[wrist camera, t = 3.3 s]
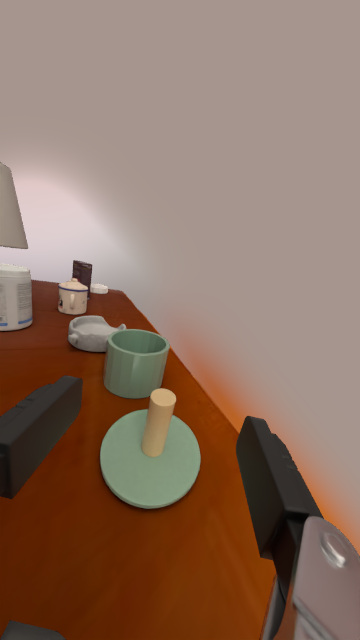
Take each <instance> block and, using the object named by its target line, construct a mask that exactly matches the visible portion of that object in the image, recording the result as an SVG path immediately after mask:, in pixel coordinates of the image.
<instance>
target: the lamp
mask: <svg viewBox="0 0 360 640" xmlns="http://www.w3.org/2000/svg"><path fill="white" fill-rule="evenodd" d="M0 246H3V247H11V248H21V249H28V244H27V240H26V236H25V232H24V227H23V222H22V218H21V213H20V209H19V205H18V200H17V196H16V191H15V187H14V183H13V178H12V173H11V170H10V169H9V168H8V167H7V166H6V165H4V164H2V163H1V162H0Z"/></svg>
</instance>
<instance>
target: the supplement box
mask: <svg viewBox="0 0 360 640" xmlns="http://www.w3.org/2000/svg"><path fill="white" fill-rule="evenodd" d="M91 274H92V265H91V264H88V263H85V262H81V261H75V260H74V261H73V277H72V278H75V279H77V280H78V281H77V282H80V283H81V284H82V285H84V286H87V287H88V291H87V300H89V299H90V286H91Z"/></svg>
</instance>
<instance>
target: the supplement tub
mask: <svg viewBox="0 0 360 640" xmlns="http://www.w3.org/2000/svg"><path fill="white" fill-rule="evenodd" d="M31 323H32V293H31V275H30V270H29V269H28V268H25V267H20V266H15V265H8V264H0V331H11V330H18V329H22V328H26V327H28V326H29V325H31Z"/></svg>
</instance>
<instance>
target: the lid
mask: <svg viewBox="0 0 360 640" xmlns="http://www.w3.org/2000/svg"><path fill="white" fill-rule="evenodd" d="M175 402H176V396H175V395H174V393H173V392H171V391H170V390H167V389H156V390H154V391H153V392H152V393H151V396H150V401H149V406H148V409H145V410H139V411H135V412H132V413H129V414H127V415H125V416H123V417H122V418H120V419H119V420H118V421H116V422H115V423H114V424H113V425H112V426H111V428H110V429H109V430H108V432H107V433H106V435H105V437H104V439H103V442H102V446H101V451H100V467H101V472H102V475H103V478H104V480H105V482H106V484H107V485H108V487H109V488H110V489H111V491H112V492H113V493H114V494H115V495H116V496H117V497H119V498H120V499H121V500H123V501H124V502H126V503H128V504H130V505H133V506H136V507H140V508H147V509H148V508H160V507H165V506H168V505H170V504H172V503H174V502H176V501H178V500H179V499H181V498H182V497H183V496H184V495H185V494H186V493H187V492H188V491H189V490H190V489H191V487H192V486H193V484H194V482H195V480H196V478H197V475H198V472H199V467H200V450H199V445H198V442H197V440H196V438H195V436H194V434H193V432H192V431H191V430H190V428H189V427H188V426H187V425H186V424H185V423H184V422H183V421H182V420H180V419H179V418H177V417H176V416H174V415H173V410H174V406H175Z"/></svg>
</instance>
